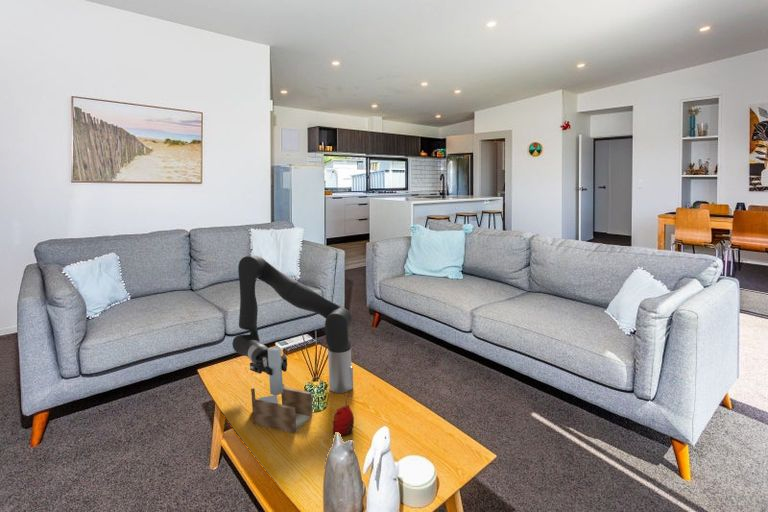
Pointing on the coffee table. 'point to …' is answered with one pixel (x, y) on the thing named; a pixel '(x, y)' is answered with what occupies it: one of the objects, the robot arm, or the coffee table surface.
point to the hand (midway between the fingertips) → (278, 370)
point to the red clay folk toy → (343, 419)
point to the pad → (270, 399)
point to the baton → (275, 370)
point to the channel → (283, 410)
